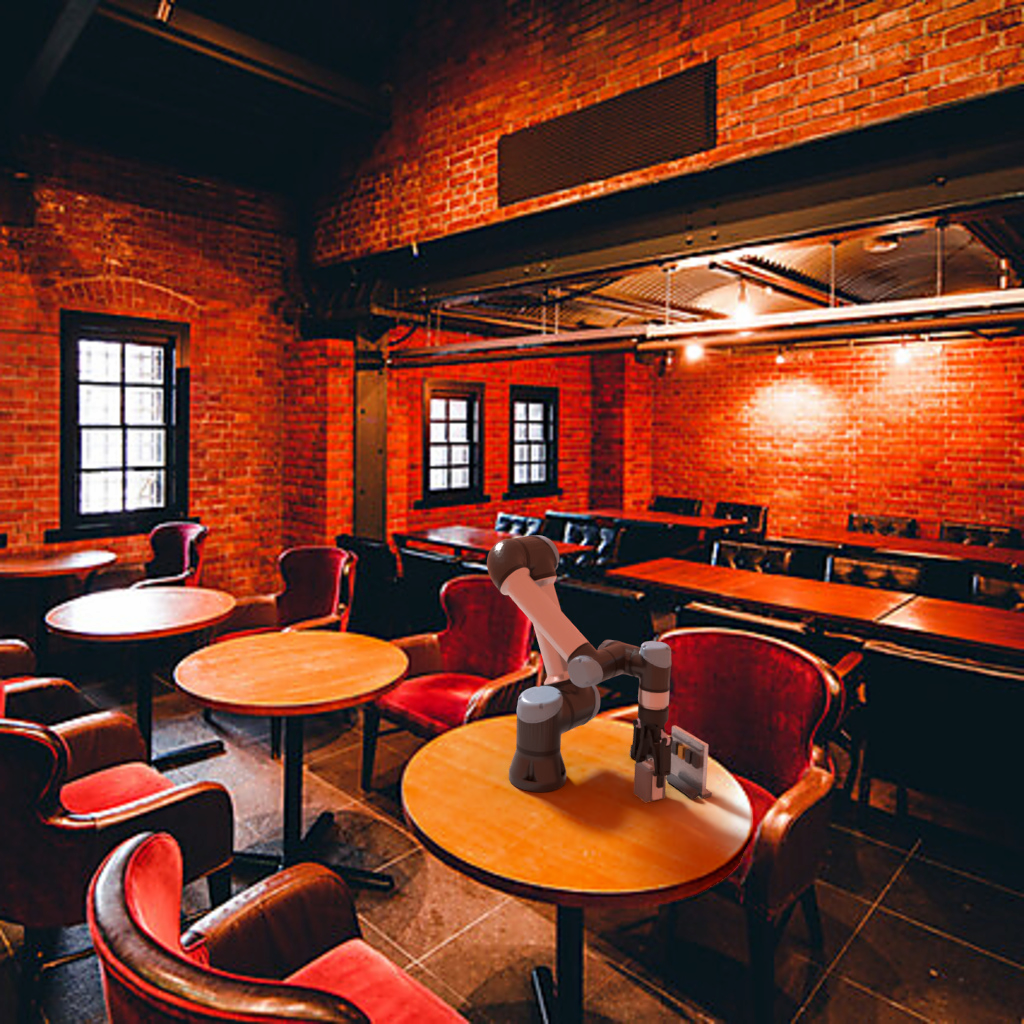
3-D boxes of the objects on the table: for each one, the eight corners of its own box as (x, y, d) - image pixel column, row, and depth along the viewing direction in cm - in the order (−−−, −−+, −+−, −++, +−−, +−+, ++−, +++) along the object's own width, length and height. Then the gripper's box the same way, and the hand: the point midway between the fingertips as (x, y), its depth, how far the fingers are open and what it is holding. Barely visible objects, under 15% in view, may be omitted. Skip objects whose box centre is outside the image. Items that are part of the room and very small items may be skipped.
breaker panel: (698, 799, 184) (701, 746, 182) (666, 776, 196) (669, 726, 194) (711, 796, 186) (714, 743, 184) (679, 774, 197) (681, 724, 196)
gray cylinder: (698, 798, 185) (698, 789, 184) (690, 800, 184) (691, 791, 183) (673, 780, 194) (673, 772, 193) (665, 782, 193) (666, 773, 192)
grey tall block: (645, 802, 182) (646, 769, 181) (633, 793, 186) (635, 761, 185) (668, 797, 185) (669, 764, 184) (656, 788, 189) (657, 756, 188)
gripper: (689, 715, 176) (684, 807, 179) (643, 690, 193) (639, 774, 195) (664, 720, 173) (659, 813, 175) (619, 693, 189) (616, 779, 192)
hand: (649, 792), depth 185 cm, fingers open, 6 cm apart
